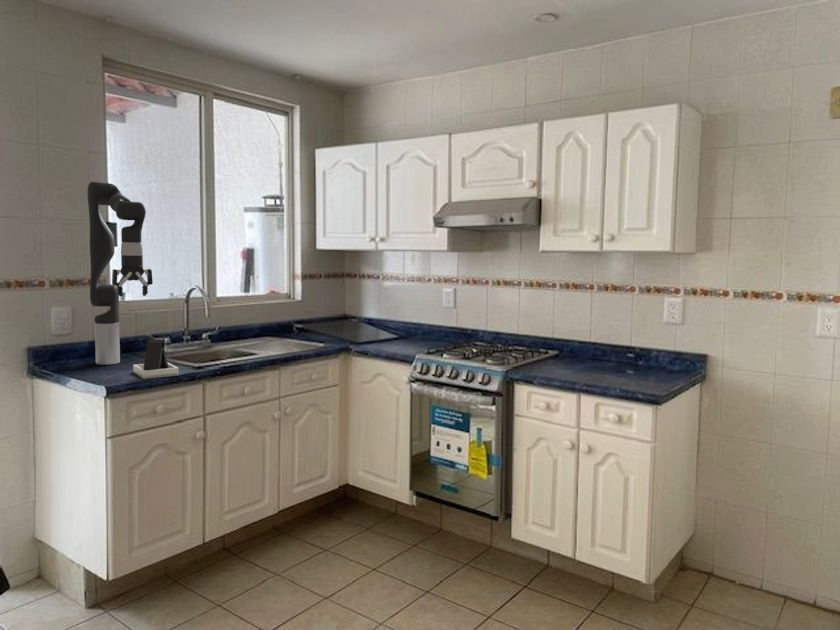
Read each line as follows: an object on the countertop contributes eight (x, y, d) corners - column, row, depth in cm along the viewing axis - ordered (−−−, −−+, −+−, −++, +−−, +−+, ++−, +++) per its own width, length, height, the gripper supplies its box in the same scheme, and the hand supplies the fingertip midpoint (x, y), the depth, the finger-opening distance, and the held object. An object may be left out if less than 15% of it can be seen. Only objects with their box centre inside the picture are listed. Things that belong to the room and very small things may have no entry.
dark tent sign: (154, 368, 256) (153, 339, 255) (168, 369, 256) (168, 339, 254) (142, 373, 247) (142, 342, 246) (157, 373, 247) (157, 343, 245)
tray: (133, 372, 253) (133, 364, 253) (167, 369, 261) (167, 361, 261) (143, 378, 242) (143, 371, 241) (178, 375, 250) (178, 367, 249)
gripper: (114, 254, 239) (115, 297, 241) (154, 254, 248) (154, 296, 250) (109, 253, 245) (110, 295, 247) (148, 253, 253) (149, 294, 256)
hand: (132, 296), depth 248 cm, fingers open, 8 cm apart
